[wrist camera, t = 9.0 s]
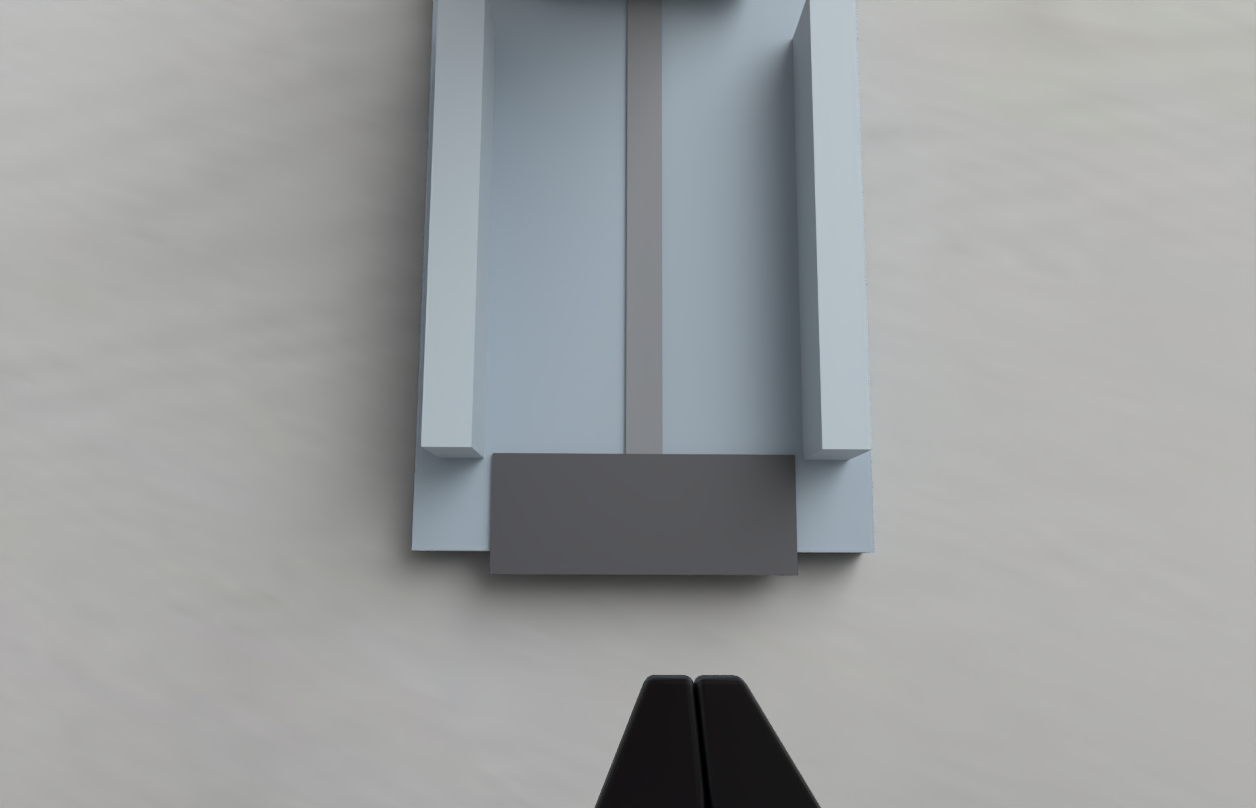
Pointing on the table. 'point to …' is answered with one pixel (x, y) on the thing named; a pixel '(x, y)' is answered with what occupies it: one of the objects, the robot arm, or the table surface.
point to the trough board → (644, 288)
